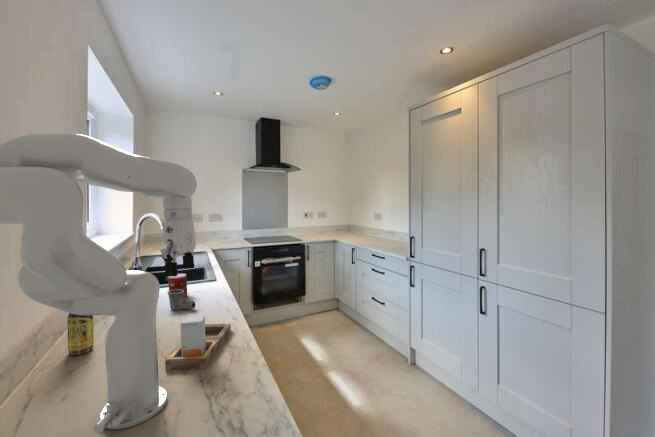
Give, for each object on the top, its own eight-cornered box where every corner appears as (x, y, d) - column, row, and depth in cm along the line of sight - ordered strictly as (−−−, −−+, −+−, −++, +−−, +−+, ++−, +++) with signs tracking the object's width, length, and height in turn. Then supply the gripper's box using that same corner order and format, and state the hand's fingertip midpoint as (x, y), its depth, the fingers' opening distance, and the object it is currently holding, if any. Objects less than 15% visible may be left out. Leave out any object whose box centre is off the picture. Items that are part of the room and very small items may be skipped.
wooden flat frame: (205, 368, 81) (205, 359, 80) (165, 370, 80) (165, 360, 80) (230, 330, 104) (230, 322, 104) (200, 331, 104) (199, 323, 104)
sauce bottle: (63, 357, 87) (58, 293, 86) (76, 347, 93) (72, 287, 92) (87, 355, 88) (83, 291, 87) (99, 345, 94) (96, 286, 93)
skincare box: (181, 363, 83) (179, 323, 83) (185, 355, 88) (183, 317, 87) (203, 360, 85) (202, 321, 84) (206, 353, 89) (205, 315, 88)
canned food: (169, 296, 144) (168, 274, 143) (187, 293, 147) (186, 272, 146) (168, 300, 137) (167, 278, 136) (187, 298, 140) (186, 276, 139)
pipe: (189, 313, 122) (188, 294, 121) (164, 310, 125) (163, 292, 124) (198, 307, 127) (198, 290, 127) (174, 305, 131) (173, 288, 130)
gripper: (175, 216, 77) (177, 279, 78) (203, 213, 94) (205, 265, 95) (147, 216, 77) (150, 279, 78) (180, 213, 94) (182, 265, 95)
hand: (180, 271), depth 86 cm, fingers open, 9 cm apart
